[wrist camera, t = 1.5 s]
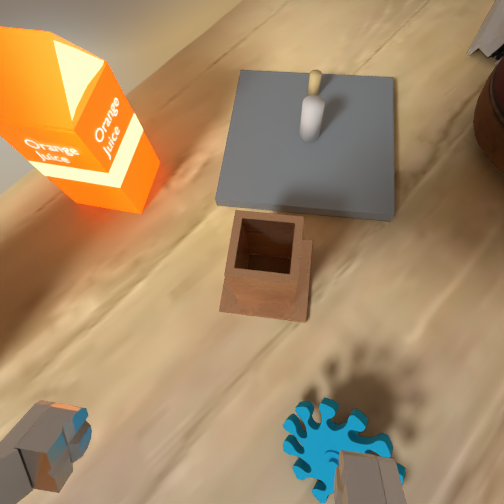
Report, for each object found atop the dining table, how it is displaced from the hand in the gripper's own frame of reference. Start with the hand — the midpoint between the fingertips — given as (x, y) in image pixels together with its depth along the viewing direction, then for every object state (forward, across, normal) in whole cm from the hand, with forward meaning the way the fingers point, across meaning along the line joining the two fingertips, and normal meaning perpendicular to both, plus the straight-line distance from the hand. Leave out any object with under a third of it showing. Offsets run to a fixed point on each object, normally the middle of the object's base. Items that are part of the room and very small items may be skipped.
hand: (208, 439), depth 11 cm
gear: (+14, -8, +19) cm, 25 cm away
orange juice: (+32, +20, +1) cm, 38 cm away
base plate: (+38, -3, -5) cm, 38 cm away
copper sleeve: (+25, 0, +8) cm, 26 cm away
